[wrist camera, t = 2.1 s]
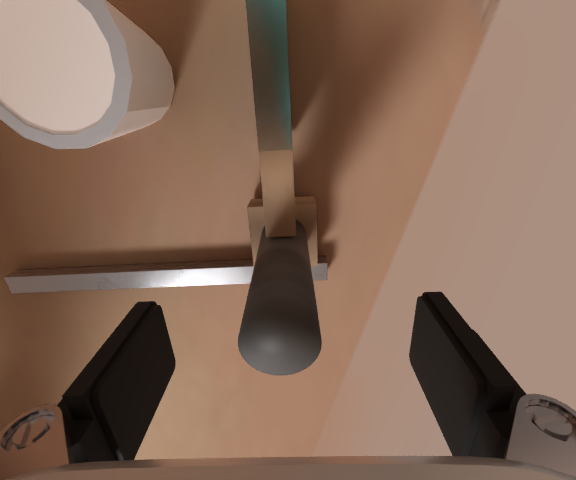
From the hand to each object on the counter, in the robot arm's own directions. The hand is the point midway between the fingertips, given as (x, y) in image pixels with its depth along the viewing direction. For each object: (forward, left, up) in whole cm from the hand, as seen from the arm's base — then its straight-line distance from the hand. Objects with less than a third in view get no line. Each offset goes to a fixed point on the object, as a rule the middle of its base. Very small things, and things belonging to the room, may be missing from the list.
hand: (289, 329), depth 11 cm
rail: (-4, +9, -12) cm, 16 cm away
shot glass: (+10, +9, -12) cm, 18 cm away
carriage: (+5, 0, -12) cm, 13 cm away
